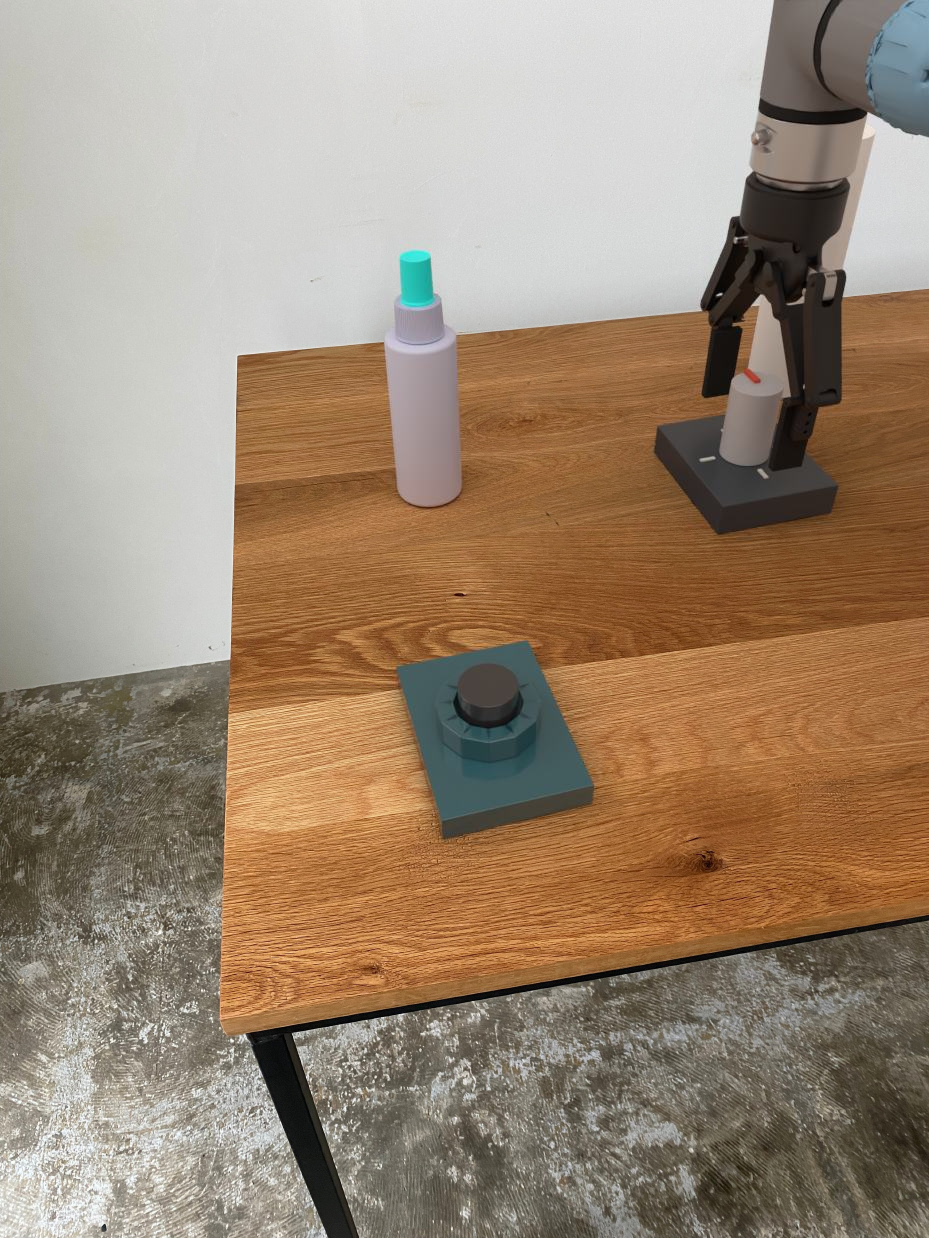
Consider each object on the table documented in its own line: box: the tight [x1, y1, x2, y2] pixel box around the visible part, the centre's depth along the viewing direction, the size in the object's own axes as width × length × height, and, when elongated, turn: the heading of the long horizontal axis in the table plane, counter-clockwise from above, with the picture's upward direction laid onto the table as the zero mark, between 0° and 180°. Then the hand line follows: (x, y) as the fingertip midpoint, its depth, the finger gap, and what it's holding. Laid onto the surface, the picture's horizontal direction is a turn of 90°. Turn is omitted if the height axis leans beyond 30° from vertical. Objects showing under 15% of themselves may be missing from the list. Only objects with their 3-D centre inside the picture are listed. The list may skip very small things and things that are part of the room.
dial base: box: [653, 413, 840, 535], centre depth 86 cm, size 14×11×3 cm
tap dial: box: [719, 368, 784, 466], centre depth 83 cm, size 4×4×7 cm
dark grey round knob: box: [457, 663, 518, 728], centre depth 62 cm, size 4×4×2 cm
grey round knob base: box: [395, 639, 595, 840], centre depth 63 cm, size 14×10×4 cm
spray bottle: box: [383, 249, 463, 508], centre depth 80 cm, size 6×6×22 cm
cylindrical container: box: [747, 123, 876, 399], centre depth 93 cm, size 7×7×25 cm
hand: (748, 429), depth 84 cm, fingers open, 12 cm apart
